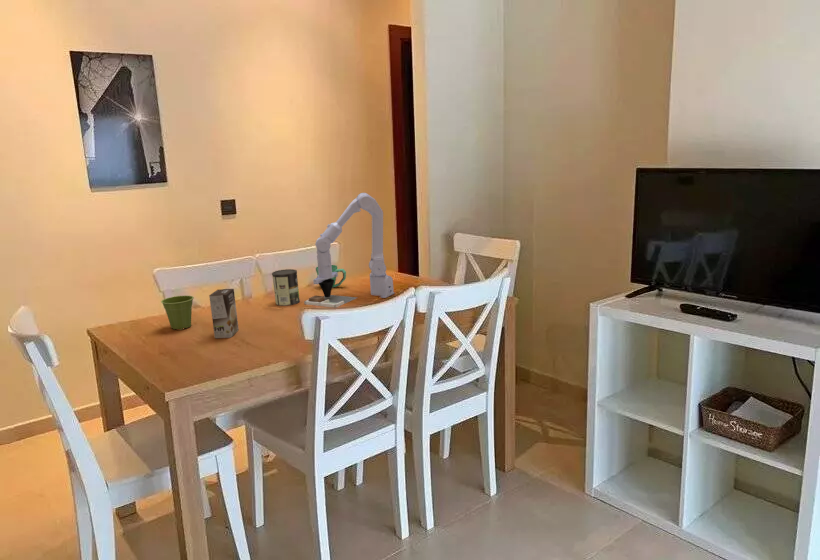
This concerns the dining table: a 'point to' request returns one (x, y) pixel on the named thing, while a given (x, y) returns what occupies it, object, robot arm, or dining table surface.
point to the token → (316, 299)
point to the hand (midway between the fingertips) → (327, 296)
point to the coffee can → (286, 287)
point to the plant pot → (178, 311)
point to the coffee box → (224, 313)
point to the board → (331, 301)
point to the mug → (334, 269)
